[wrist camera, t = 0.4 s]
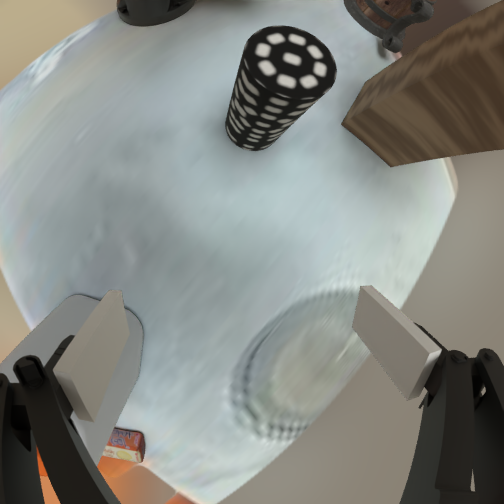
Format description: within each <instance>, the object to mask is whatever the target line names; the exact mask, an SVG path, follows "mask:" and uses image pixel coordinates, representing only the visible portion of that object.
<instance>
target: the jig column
mask: <svg viewBox="0 0 504 504" xmlns="http://www.w3.org/2000/svg"><path fill="white" fill-rule="evenodd" d="M341 125H342V126H344V127H345V128H346V129H348V130H349V131H350V132H351V133H352V134H354V135H355V136H356V137H357V138H359V139H360V140H361V141H362V142H363V143H364V144H366V145H367V146H368V147H369V148H370V149H371V150H373V151H374V152H375V153H376V154H377V155H378V156H379V157H380V158H381V159H383V160H384V161H385V162H386V163H387V164H388V165H389V166H390V167H394V166H399V165H404V164H410V163H415V162H421V161H426V160H432V159H438V158H444V157H450V156H456V155H464V154H470V153H478V152H485V151H493V150H502V149H504V0H502V1H500V2H498V3H495V4H493V5H491V6H489V7H487V8H485V9H483V10H481V11H479V12H477V13H475V14H474V15H471V16H470V17H468V18H466V19H464V20H462V21H461V22H459V23H457V24H455V25H453V26H451V27H450V28H448V29H446V30H445V31H443V32H441V33H439V34H438V35H436V36H434V37H433V38H431V39H430V40H428V41H427V42H425V43H423V44H421V45H420V46H418V47H417V48H415V49H413V50H412V51H410V52H409V53H407V54H406V55H404V56H403V57H401V58H400V59H398V60H397V61H395V62H394V63H392V64H391V65H389V66H388V67H386V68H385V69H383V70H382V71H380V72H379V73H378V74H376V75H375V76H373V77H372V78H370V79H369V80H368V81H366V82H365V84H364V86H363V88H362V89H361V91H360V93H359V94H358V96H357V98H356V100H355V101H354V103H353V105H352V106H351V108H350V110H349V112H348V113H347V115H346V117H345V118H344V120H343V122H342V124H341Z"/></svg>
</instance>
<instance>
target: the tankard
mask: <svg viewBox="0 0 504 504" xmlns="http://www.w3.org/2000/svg"><path fill="white" fill-rule="evenodd" d="M436 1H437V0H344V4H345V7H346V9H347V11H348V12H349V13H350V15H351V16H352V17H353V18H354V19H355V20H356V21H357V22H358V23H359V24H360V25H361V26H362V27H363V28H365V29H366V30H367V31H369V32H370V33H372V34H373V35H375V36H377V37H379V38H381V39H383V41H382V44H383V47H384V48H386V49H388V50H390V51H392V52H394V53H397V52H399V51H400V50H401V49H402V47H403V42H402V40H403V39H404V37H405V28H406V27H407V26H409V25H411V24H413V23H420V22H424V21H427V20H429V19H430V18H431V17H432V15H433V13H434V9H433V7H432V5H433V4H434V3H436Z"/></svg>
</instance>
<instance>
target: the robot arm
mask: <svg viewBox="0 0 504 504" xmlns="http://www.w3.org/2000/svg"><path fill="white" fill-rule="evenodd" d="M195 1H196V0H117V10H118V13H119V16H120V18H121V19H122V20H123V21H124V22H126V23H128V24H131V25H136V26H150V25H156V24H161V23H164V22H167V21H170V20H173V19H175V18H177V17H179V16H181V15H182V14H184V13H185V12H187V11H188V10H189V9H190V8H191V7H192V6H193V5H194V3H195ZM352 328H353V329H354V330H355V332H356V333H357V334H358V336H359V337H360V338H361V340H362V341H363V342H364V343H365V345H366V346H367V347H368V349H369V350H370V351H371V353H372V354H373V355H374V357H375V358H376V359H377V361H378V362H379V363H380V365H381V366H382V367H383V369H384V370H385V371H386V373H387V374H388V375H389V377H390V378H391V380H392V381H393V382H394V384H395V385H396V386H397V388H398V389H399V391H400V392H401V393H402V395H403V396H404V398H405V399H406V400H407V401H408V400H410V399H413V398H416V397H419V395H420V394H421V392H422V390H423V388H424V387H425V388H426V389H427V391H428V392H427V394H426V395H425V397H424V399H423V401H422V402H421V404H420V406H419V408H421V407H422V405H424V407H423V414H422V420H421V426H420V431H419V436H418V441H417V445H416V450H415V454H414V458H413V462H412V466H411V470H410V473H409V477H408V480H407V483H406V486H405V489H404V492H403V495H402V498H401V501H400V504H504V366H503V364H502V362H501V360H500V359H499V357H498V355H497V354H496V353H495V352H494V351H493V350H490V349H486V348H483V349H481V350H480V351H479V353H478V355H477V357H476V358H468V357H467V356H466V354H464V353H462V352H460V351H457V350H451V351H448V350H447V349H446V348H445V347H444V346H442V345H441V344H440V343H439V342H438V341H437V340H436V339H435V338H433V336H432V335H431V334H429V333H428V332H427V331H426V330H425V329H424V328H423V327H422V326H420V325H418V324H416V323H414V322H412V321H411V320H410V319H409V318H408V317H406V316H405V315H404V314H403V313H402V312H401V311H400V310H399V309H398V308H397V307H395V306H394V305H393V304H392V303H391V302H390V301H389V300H388V299H386V298H385V297H384V296H383V295H382V294H381V293H380V292H378V291H377V290H376V289H375V288H374V287H373V286H372V285H371V286H360V291H359V296H358V301H357V306H356V311H355V315H354V320H353V324H352ZM129 335H130V332H129V328H128V323H127V318H126V313H125V308H124V303H123V297H122V291H116V290H109V291H108V292H107V293H106V295H105V296H104V297H103V298H102V300H101V301H100V302H99V304H98V305H97V306H96V308H95V309H94V310H93V312H92V313H91V314H90V316H89V317H88V319H87V320H86V321H85V323H84V324H83V326H82V327H81V328H80V330H79V331H78V333H77V334H76V335H69V336H68V337H67V338H65V339H64V340H62V342H61V343H60V345H59V346H58V349H56V350H55V352H54V354H52V356H51V357H50V359H49V360H48V362H47V363H46V365H45V366H44V367H43V365H42V362H41V360H40V359H39V357H37V356H35V355H27V356H23V357H21V358H20V359H18V360H17V361H16V362H15V364H14V365H13V371H14V373H15V375H16V377H17V379H18V381H19V383H10V381H9V379H8V378H7V376H6V375H5V374H3V373H0V504H45V502H44V497H43V493H42V488H41V481H40V474H39V467H38V458H37V448H38V451H39V454H40V457H41V460H42V462H43V465H44V467H45V470H46V473H47V475H48V477H49V480H50V482H51V484H52V487H53V489H54V491H55V493H56V495H57V497H58V499H59V501H60V503H61V504H121V503H120V501H119V500H118V499H117V497H116V496H115V495H114V493H113V492H112V490H111V489H110V487H109V486H108V484H107V483H106V481H105V479H104V478H103V476H102V475H101V473H100V471H99V470H98V468H97V466H96V465H95V463H94V461H93V459H92V458H91V456H90V454H89V452H88V450H87V448H86V447H85V445H84V443H83V441H82V439H81V437H80V435H79V433H78V431H77V428H76V426H75V424H74V422H73V420H72V419H71V415H72V412H73V410H74V412H75V414H76V416H77V417H78V419H80V420H85V421H89V422H95V419H96V416H97V414H98V411H99V408H100V405H101V403H102V400H103V397H104V395H105V392H106V390H107V387H108V385H109V382H110V380H111V377H112V375H113V372H114V370H115V367H116V365H117V362H118V360H119V358H120V355H121V353H122V351H123V348H124V346H125V344H126V342H127V339H128V337H129ZM484 386H485V388H486V392H485V394H484V395H483V396H482V393H481V391H482V390H483V388H484ZM36 445H37V446H36ZM472 469H473V474H474V483H475V492H473V491H471V489H470V486H471V478H472Z"/></svg>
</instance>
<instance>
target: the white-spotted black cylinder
mask: <svg viewBox="0 0 504 504" xmlns="http://www.w3.org/2000/svg"><path fill="white" fill-rule="evenodd" d="M336 73H337V69H336V64H335V60H334V58H333V56H332V54H331V52H330V51H329V49H328V48H327V47H326V46H325V45H324V44H323V43H322V42H321V41H320V40H319V39H318V38H316V37H315V36H313V35H312V34H310V33H308V32H306V31H304V30H301V29H298V28H295V27H290V26H271V27H266V28H263V29H261V30H259V31H257V32H256V33H254V34H253V35H252V36H251V37H250V38H249V39H248V41H247V43H246V44H245V47H244V51H243V54H242V58H241V62H240V65H239V69H238V73H237V77H236V81H235V84H234V88H233V92H232V96H231V100H230V105H229V109H228V113H227V117H226V122H225V126H226V131H227V134H228V136H229V138H230V139H231V140H232V142H233V143H235V144H236V145H237V146H239V147H241V148H243V149H246V150H251V151H258V150H263V149H265V148H267V147H269V146H270V145H272V144H273V143H274V142H275V141H276V140H277V139H278V138H279V137H280V136H281V135H282V134H283V133H284V132H285V131H286V130H287V129H288V128H289V127H290V126H291V125H292V124H293V123H294V122H295V121H296V120H297V119H298V118H299V117H300V116H301V115H303V114H304V113H305V112H306V111H307V110H308V109H309V108H310V107H311V106H312V105H313V104H314V103H315V102H316V101H318V100H319V99H320V98H321V97H322V96H323V95H324V94H325V93H326V92H327V91H328V90H329V89H331V87H332V86H333V84H334V82H335V79H336Z"/></svg>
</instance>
